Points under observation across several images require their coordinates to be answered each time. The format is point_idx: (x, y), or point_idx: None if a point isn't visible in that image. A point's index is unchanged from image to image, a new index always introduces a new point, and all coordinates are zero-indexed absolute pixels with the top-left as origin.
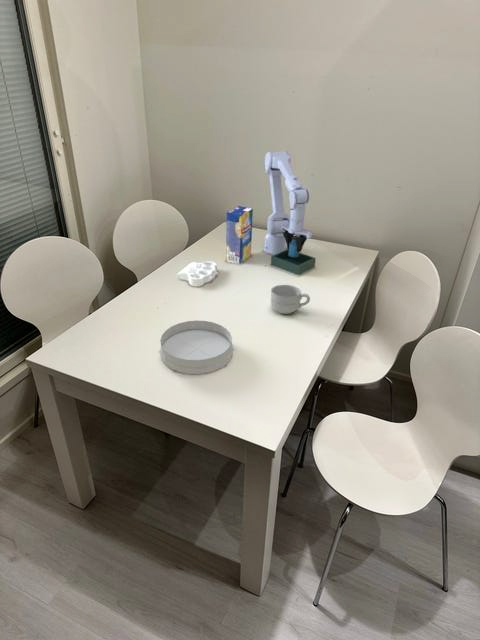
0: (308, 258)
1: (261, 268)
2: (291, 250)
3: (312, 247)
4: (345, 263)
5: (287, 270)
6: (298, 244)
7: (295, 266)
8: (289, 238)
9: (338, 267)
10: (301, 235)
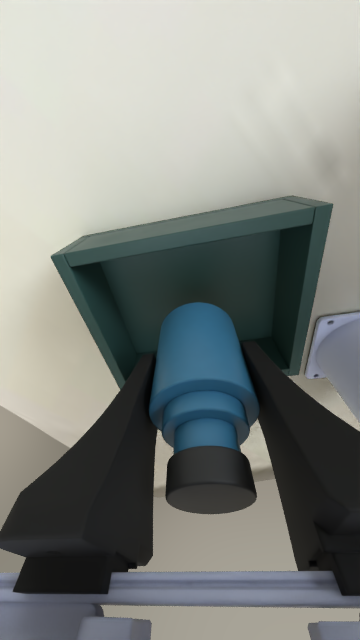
0: None
1: (330, 86)
2: (189, 335)
3: (261, 437)
4: None
5: (157, 223)
6: (114, 415)
7: (85, 246)
8: (280, 442)
9: (96, 406)
10: (67, 590)
